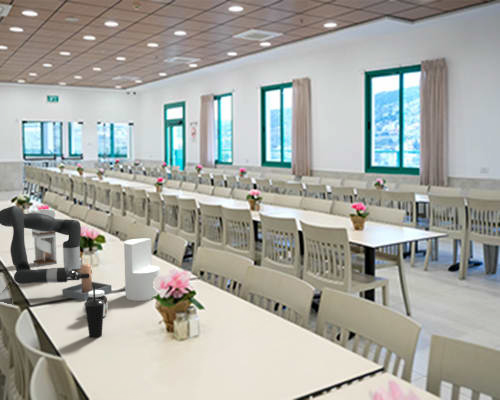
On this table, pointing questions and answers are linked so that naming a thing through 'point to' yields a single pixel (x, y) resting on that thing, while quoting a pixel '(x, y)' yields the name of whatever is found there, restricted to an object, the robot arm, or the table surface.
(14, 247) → the robot arm
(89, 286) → the pillar candle
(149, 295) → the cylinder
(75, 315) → the table surface
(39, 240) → the display case
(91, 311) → the drinking cup
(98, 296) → the spread jar
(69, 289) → the shallow square tray
